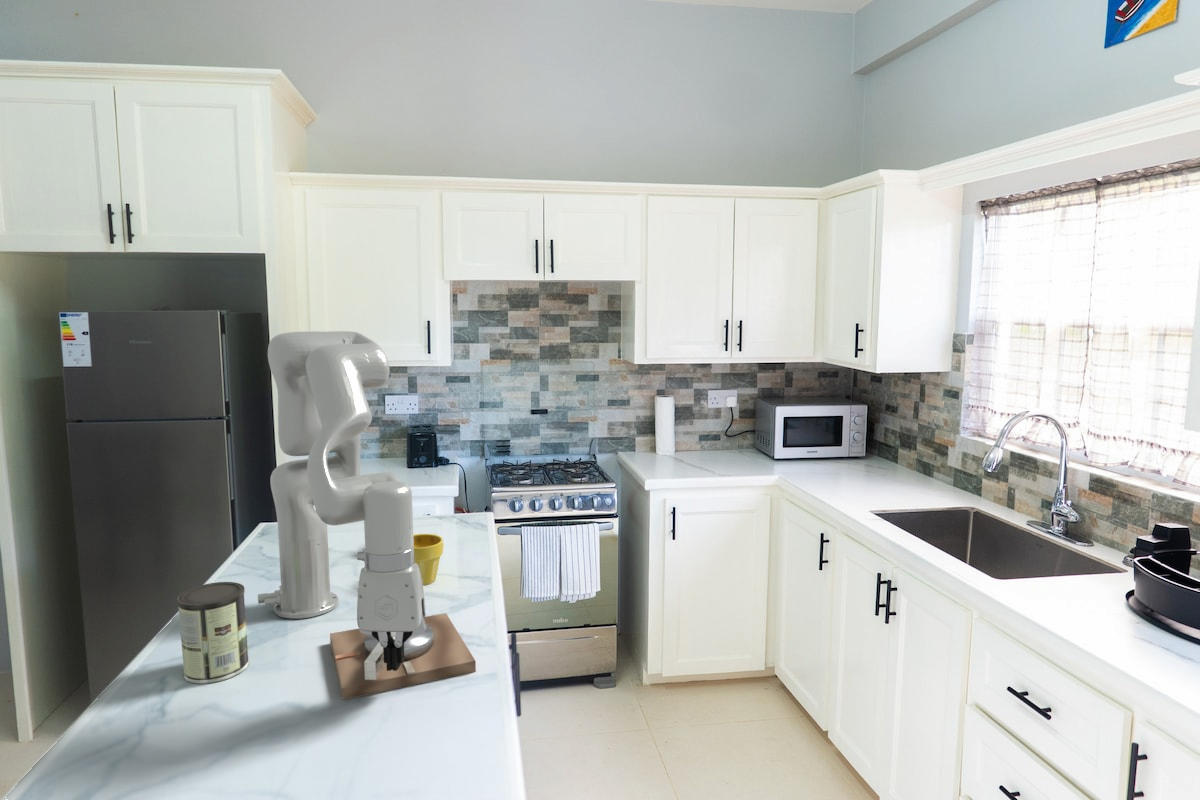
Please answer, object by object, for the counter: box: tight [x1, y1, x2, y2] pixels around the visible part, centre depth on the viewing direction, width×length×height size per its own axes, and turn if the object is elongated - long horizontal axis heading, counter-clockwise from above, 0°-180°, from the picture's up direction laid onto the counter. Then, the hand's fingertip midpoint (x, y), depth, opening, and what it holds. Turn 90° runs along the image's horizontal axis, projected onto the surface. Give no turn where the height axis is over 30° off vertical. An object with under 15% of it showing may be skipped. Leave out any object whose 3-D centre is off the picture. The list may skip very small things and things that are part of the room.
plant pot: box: [413, 533, 444, 586], centre depth 168 cm, size 10×10×10 cm
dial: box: [364, 624, 434, 680], centre depth 126 cm, size 21×12×4 cm, turn 178°
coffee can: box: [176, 581, 250, 685], centre depth 126 cm, size 10×10×14 cm
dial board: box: [329, 612, 477, 701], centre depth 131 cm, size 22×22×2 cm
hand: (394, 666), depth 119 cm, fingers closed
